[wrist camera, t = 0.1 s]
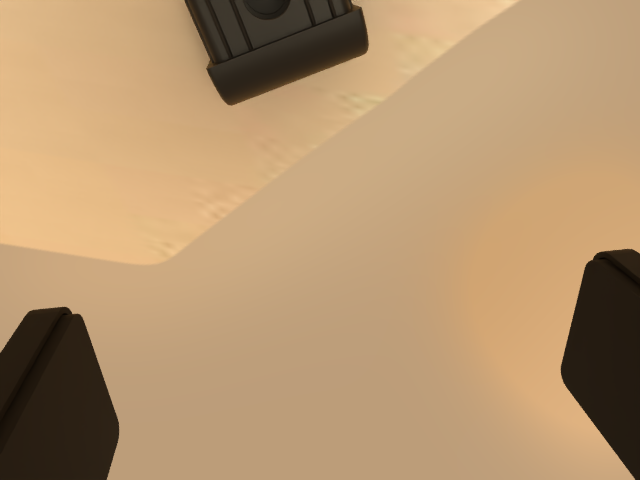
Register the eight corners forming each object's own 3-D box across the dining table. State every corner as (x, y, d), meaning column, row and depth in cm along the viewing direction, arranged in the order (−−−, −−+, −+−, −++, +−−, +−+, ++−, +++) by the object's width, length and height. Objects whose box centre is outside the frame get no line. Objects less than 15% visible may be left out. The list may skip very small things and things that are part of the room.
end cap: (231, 93, 37) (227, 116, 31) (188, -6, 34) (174, -1, 28) (357, 45, 37) (376, 59, 31) (326, -62, 33) (341, -69, 27)
